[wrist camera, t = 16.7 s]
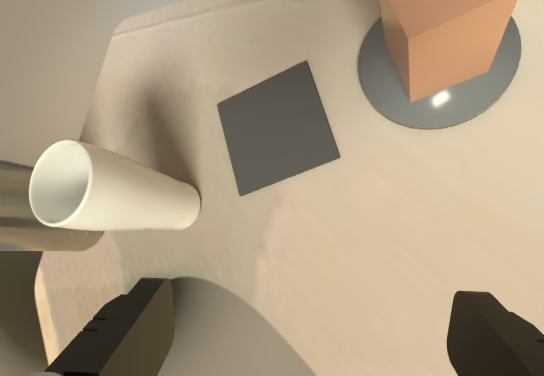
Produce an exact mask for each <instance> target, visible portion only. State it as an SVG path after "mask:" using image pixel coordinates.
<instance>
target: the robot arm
mask: <svg viewBox="0 0 544 376" xmlns="http://www.w3.org/2000/svg"><path fill="white" fill-rule="evenodd" d="M33 169H34V167H31V166H26V165H22V164H17V163H13V162H9V161H4V160H0V251H1V250H2V251H12V250H13V251H82V250H86V249H88V248H90V247H91V246H92V245H94V244H95V243H96V242H97V241H98V239H99V238H100V237H101V235H102V233H103V231H90V230H76V229H67V228H59V227H51V226H47V225H45V224H43V223H41V222H40V221H39V220H38V219H37V218H36V217H35V215H34V213H33V211H32V209H31V206H30V201H29V184H30V179H31V175H32V172H33ZM173 311H174V310H173V298H172V286H171V282H170V280H169V279H167V278H141V279H140V280H139V281H138V282H137V284H136V285H135V286H134V287H133V288H132V290H131V291H130V292H129V293H128V294H127V295H124V294H121V295H120V296H118V297H116V298H115V299H113V300H112V301H110V302H108V303H107V304H105V305H104V306H103V307H102V308H101V309H100V310H99V312H98V313H97V314H96V315H95V316H94V317H93V320H90V321H89V323H88V324H87V325H86V326H85V327H84V328H83V331H80V332H79V334H78V335H77V336H76V337H75V338H74V339H73V340H72V341H71V342H70V344H69V345H68V346H67V347H66V348H65V349H64V350H63V351H62V352H61V353H60V355H59V356H58V357H57V358H56V359H55V360H54V361H53V362H52V363H51V365H50V366H49V367H48V368H47V369H46V370H45V371H44V372H39V373H34V374H30V375H27V376H157V375H158V373H159V371H160V369H161V367H162V365H163V362H164V361H165V358H166V356H167V354H168V352H169V350H170V348H171V346H172V342H173V338H174V330H175V323H174V312H173ZM447 351H448V356H449V359H450V362H451V364H452V366H453V368H454V369H455V371H456V373H457V374H458V376H544V335H543V334H542V333H541V332H540V331H539V330H538V329H537V328H536V327H535V326H534V325H533V324H531V323H529V322H528V321H526V320H524V319H523V318H521V317H520V316H518V315H516V314H515V313H513V312H508V311H507V310H506V309H505V307H504V306H503V305H502V304H501V303H500V302H499V301H498V300H497V299H496V298H495V297H494V296H493V295H492V294H491V293H489V292H475V291H458V292H456V294H455V295H454V299H453V305H452V311H451V317H450V323H449V329H448V335H447Z"/></svg>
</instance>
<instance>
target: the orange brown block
mask: <svg viewBox="0 0 544 376" xmlns="http://www.w3.org/2000/svg"><path fill="white" fill-rule="evenodd" d="M516 1H517V0H379V2H380V9H381V16H382V23H383V30H384V37H385V44H386V47H387V49H388V51H389V54H390V56H391V58H392V61H393V63H394V66H395V68H396V70H397V73H398V75H399V77H400V80H401V82H402V84H403V87H404V89H405V91H406V94H407V96H408V99H409V101H410V103H412V102H414V101H417V100H419V99H422V98H424V97H427V96H429V95H431V94H434V93H436V92H439V91H441V90H444V89H446V88H449V87H451V86H454V85H456V84H459V83H461V82H464V81H466V80H469V79H471V78H473V77H476V76H478V75H481V74H483V73H486V72H488V71H489V69H490V66H491V64H492V61H493V59H494V56H495V54H496V51H497V49H498V46H499V44H500V41H501V39H502V36H503V34H504V31H505V29H506V26H507V24H508V21H509V19H510V16H511V14H512V11H513V9H514V6H515V4H516Z"/></svg>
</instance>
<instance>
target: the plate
mask: <svg viewBox="0 0 544 376" xmlns="http://www.w3.org/2000/svg"><path fill="white" fill-rule="evenodd" d="M520 57H521V38H520V34H519V30H518V28H517V25H516V23H515V21H514V19H513V18H512V17H511V16H510V19H509V21H508V24H507V26H506V29H505V31H504V34H503V36H502V39H501V41H500V44H499V46H498V49H497V51H496V54H495V56H494V59H493V61H492V64H491V66H490V69H489V71H488V72H486V73H483V74H481V75H478V76H476V77H473V78H471V79H469V80H466V81H464V82H461V83H459V84H456V85H454V86H451V87H449V88H446V89H444V90H441V91H439V92H436V93H434V94H431V95H429V96H427V97H424V98H422V99H419V100H417V101H414V102H412V103H410V101H409V99H408V96H407V94H406V91H405V89H404V87H403V84H402V82H401V80H400V77H399V75H398V73H397V70H396V68H395V66H394V63H393V61H392V58H391V56H390V54H389V51H388V49H387V47H386V44H385V37H384V30H383V23H382V17H381V18H380V20H379V21H378V22H377V23H376V24H375V25H374V27H373V28H372V29H371V31H370V32H369V34H368V36H367V37H366V39H365V42H364V44H363V46H362V49H361V53H360V58H359V78H360V82H361V85H362V88H363V91H364V94H365V96H366V98H367V99H368V101H369V102H370V104H371V105H372V106H373V107H374V108H375V109H376V111H377V112H379V113H380V114H381V115H382V116H384V117H385V118H387V119H389V120H390V121H392V122H394V123H397V124H399V125H402V126H406V127H409V128H415V129H430V130H431V129H442V128H447V127H452V126H455V125H458V124H461V123H464V122H466V121H468V120H471V119H473V118H475V117H476V116H478V115H480V114H481V113H483V112H484V111H486V110H487V109H488V108H490V107H491V106H492V105H493V104H494V103H495V102H496V101H497V100H498V99H499V98H500V97H501V96H502V95H503V93H504V92H505V91H506V89H507V88H508V86H509V84H510V83H511V81H512V79H513V78H514V76H515V73H516V71H517V68H518V65H519V61H520Z"/></svg>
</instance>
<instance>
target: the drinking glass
mask: <svg viewBox="0 0 544 376" xmlns="http://www.w3.org/2000/svg"><path fill="white" fill-rule="evenodd" d="M29 201H30V206H31V209H32V211H33V213H34V215H35V217H36V218H37V219H38V220H39V221H40V222H41V223H43V224H45V225H47V226H51V227H59V228H67V229H76V230H90V231H120V230H153V229H170V230H182V229H185V228H187V227H189V226H190V225H191V224H193V223H194V221H195V220H196V218H197V217H198V214H199V211H200V204H201V203H200V197H199V194H198V192H197V191H196V189H195V188H194V187H193V186H191V185H190V184H188V183H185V182H182V181H179V180H176V179H174V178H172V177H169V176H167V175H165V174H163V173H160V172H158V171H156V170H154V169H152V168H149V167H147V166H145V165H143V164H141V163H139V162H136V161H134V160H132V159H130V158H128V157H125V156H123V155H120V154H118V153H115V152H113V151H110V150H107V149H104V148H101V147H98V146H95V145H91V144H88V143H84V142H80V141H77V140H73V139H64V140H60V141H58V142H56V143H54V144H52V145H51V146H50V147H48V148H47V149H46V150H45V151H44V152H43V154H42V155H41V156H40V158H39V159H38V161H37V163H36V165H35V167H34V169H33V172H32V175H31V179H30V184H29Z"/></svg>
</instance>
